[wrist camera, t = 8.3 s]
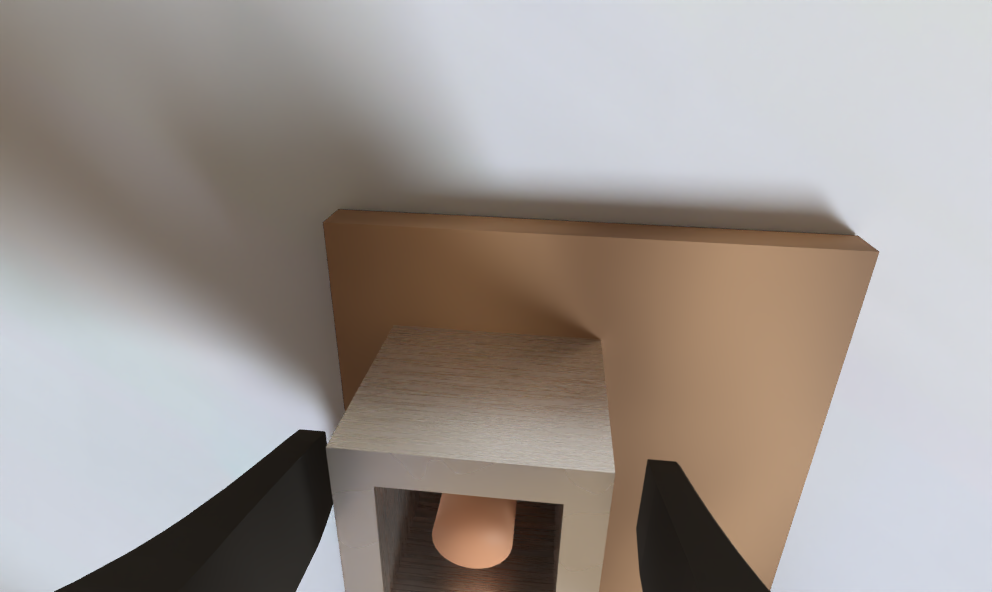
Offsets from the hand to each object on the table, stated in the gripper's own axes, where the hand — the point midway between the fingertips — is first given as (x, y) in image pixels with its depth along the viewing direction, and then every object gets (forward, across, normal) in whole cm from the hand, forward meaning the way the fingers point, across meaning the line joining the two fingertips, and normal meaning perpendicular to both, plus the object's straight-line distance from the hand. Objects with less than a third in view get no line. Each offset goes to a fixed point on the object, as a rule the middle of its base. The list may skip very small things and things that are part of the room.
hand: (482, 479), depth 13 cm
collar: (+2, 0, 0) cm, 2 cm away
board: (+3, -2, +4) cm, 5 cm away
